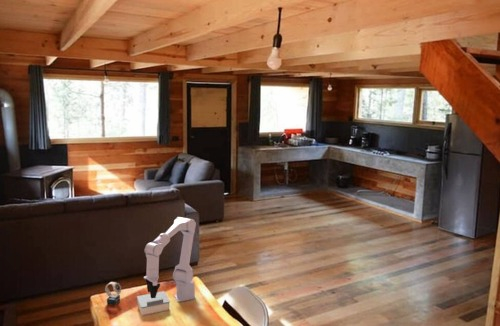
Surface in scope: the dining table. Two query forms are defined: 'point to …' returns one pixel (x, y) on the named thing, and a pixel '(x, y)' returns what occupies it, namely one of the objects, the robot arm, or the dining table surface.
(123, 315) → the dining table surface
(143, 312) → the box
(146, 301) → the lid
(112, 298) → the watch
